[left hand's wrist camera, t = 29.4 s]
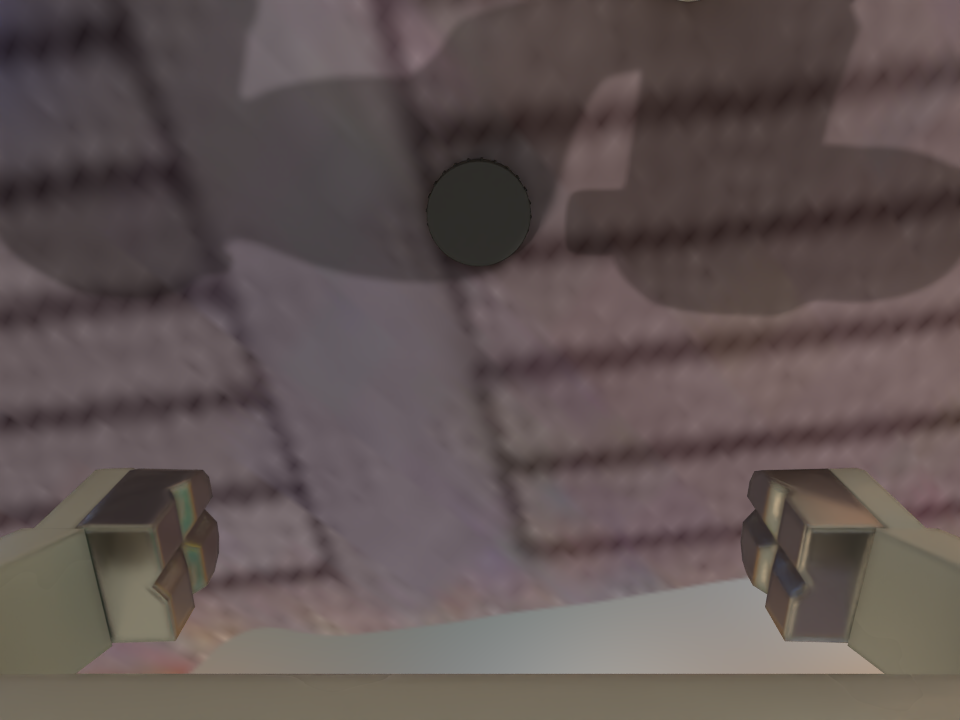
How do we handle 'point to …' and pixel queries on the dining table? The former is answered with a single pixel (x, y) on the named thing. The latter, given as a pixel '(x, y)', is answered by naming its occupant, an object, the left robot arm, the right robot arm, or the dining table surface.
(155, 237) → the dining table surface
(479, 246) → the lid
